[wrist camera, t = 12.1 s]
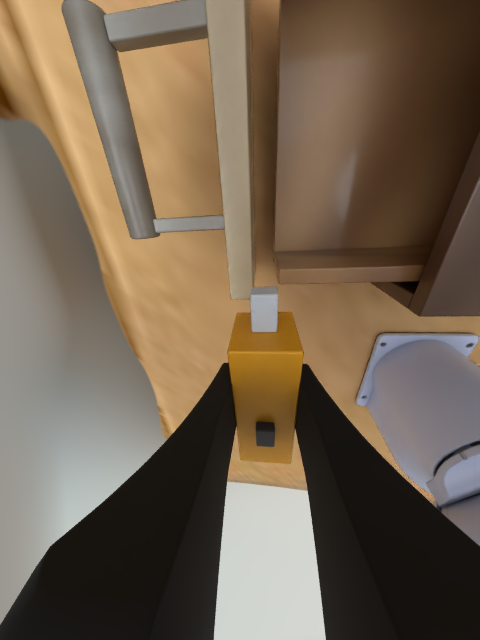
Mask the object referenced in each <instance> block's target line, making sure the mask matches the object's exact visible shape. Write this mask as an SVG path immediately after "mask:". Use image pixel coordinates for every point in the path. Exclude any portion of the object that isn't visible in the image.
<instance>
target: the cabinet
mask: <svg viewBox="0 0 480 640" xmlns="http://www.w3.org/2000/svg"><path fill="white" fill-rule="evenodd" d="M370 283H372V284H373V285H375V286H376V287H378V288H379V289H380V290H382V291H383V292H385V293H386V294H388V295H389V296H391V297H392V298H393V299H395V300H396V301H398V302H399V303H401V304H402V305H403V306H405V307H406V308H408V309H409V310H411V311H412V312H413V313H415V314H416V315H418V316H480V131H479V134H478V136H477V139H476V141H475V144H474V146H473V149H472V151H471V154H470V156H469V159H468V161H467V164H466V166H465V169H464V171H463V174H462V176H461V179H460V181H459V184H458V186H457V189H456V191H455V194H454V196H453V199H452V201H451V204H450V206H449V209H448V211H447V214H446V216H445V219H444V222H443V224H442V227H441V229H440V232H439V234H438V237H437V239H436V242H435V244H434V247H433V249H432V252H431V254H430V257H429V259H428V262H427V264H426V267H425V269H424V272H423V274H422V277H421V279H420V281H404V282H370Z"/></svg>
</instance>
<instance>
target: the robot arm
mask: <svg viewBox="0 0 480 640" xmlns="http://www.w3.org/2000/svg"><path fill="white" fill-rule="evenodd" d="M478 341H479V337H478V336H477V335H475V334H458V333H383V334H380V335H379V336H378V337H377V340H376V343H375V345H374V348H373V351H372V354H371V357H370V360H369V363H368V366H367V369H366V372H365V375H364V378H363V381H362V384H361V387H360V390H359V393H358V396H357V399H356V403H357V405H359V406H367V408H368V410H369V412H370V414H371V416H372V417H373V419H374V421H375V423H376V425H377V427H378V429H379V431H380V433H381V435H382V436H383V438H384V440H385V442H386V444H387V446H388V448H389V450H390V452H391V453H392V455H393V457H394V459H395V461H396V462H397V464H398V465H399V466H400V468H401V469H402V470H403V471H404V472H405V473H406V475H407V476H408V477H410V478H411V479H412V480H413V481H414V482H415V483H416V484H417V485H419V486H420V487H421V488H423V489H424V490H426V491H427V492H429V493H431V494H432V495H433V497H434V498H435V500H436V501H435V502H433V504H432V503H430V502H429V501H428V500H427V499H426V498H425V497H424V496H423V495H422V494H421V493H420V492H419V491H418V490H416V489H415V488H414V487H413V486H412V485H411V484H410V483H409V482H408V481H407V480H406V479H405V478H403V477H402V476H401V475H400V474H399V473H398V472H397V471H396V470H395V469H394V468H393V467H392V466H391V465H390V464H389V463H388V462H387V461H386V460H385V459H384V458H383V457H382V456H381V455H380V454H379V453H378V452H377V451H376V449H375V448H374V447H373V446H372V445H371V444H370V443H369V442H368V441H367V440H366V439H365V438H364V437H363V436H362V434H361V433H360V432H359V431H358V430H357V429H356V428H355V427H354V425H353V424H352V423H351V422H350V421H349V420H348V418H347V417H346V416H345V415H344V414H343V412H342V411H341V410H340V409H339V407H338V406H337V405H336V404H335V402H334V401H333V400H332V398H331V397H330V396H329V394H328V393H327V392H326V390H325V389H324V388H323V386H322V385H321V383H320V382H319V381H318V379H317V378H316V376H315V375H314V373H313V372H312V370H311V368H310V367H309V366H308V365H307V364H302V372H301V381H300V389H299V398H298V407H297V415H296V424H295V429H296V434H297V439H298V443H299V448H300V452H301V457H302V462H303V466H304V471H305V476H306V482H307V488H308V495H309V502H310V509H311V516H312V525H313V532H314V541H315V548H316V555H317V565H318V573H319V582H320V590H321V598H322V607H323V617H324V625H325V635H326V640H480V366H478V365H477V364H475V363H474V362H473V361H471V360H470V359H469V358H468V356H469V355H470V353H471V352H472V350H473V349H474V347H475V345H476V344H477V342H478ZM383 342H384V343H383ZM381 343H383V344H381ZM235 430H236V418H235V410H234V402H233V393H232V385H231V377H230V369H229V363H224V364H222V366H221V368H220V370H219V371H218V373H217V375H216V376H215V378H214V380H213V381H212V383H211V384H210V386H209V387H208V389H207V390H206V392H205V393H204V395H203V396H202V398H201V399H200V400H199V402H198V403H197V404H196V406H195V407H194V408H193V410H192V411H191V412H190V413H189V415H188V416H187V417H186V419H185V420H184V421H183V422H182V423H181V425H180V426H179V427H178V428H177V429H176V431H175V432H174V433H173V434H172V435H171V436H170V437H169V438H168V440H167V441H166V442H165V443H164V444H163V445H162V446H161V447H160V448H159V449H158V450H157V451H156V452H155V453H154V454H153V455H152V456H151V458H150V459H149V460H148V461H147V462H146V463H145V464H144V465H143V466H141V468H139V470H138V471H136V472H135V473H134V474H133V475H132V476H131V477H130V478H129V479H128V480H127V481H125V482H124V483H123V484H122V485H121V486H120V487H119V488H118V489H117V490H116V491H115V492H114V493H113V494H112V495H110V496H109V497H108V498H107V499H106V500H105V501H104V502H103V503H101V504H100V505H99V506H98V507H97V508H95V510H93V511H92V512H91V513H90V514H88V515H87V516H86V517H85V518H84V519H82V520H81V521H80V522H79V523H78V524H76V525H75V526H74V527H73V528H72V529H71V530H69V531H68V532H67V533H66V534H65V535H64V536H62V537H61V538H60V539H59V540H57V541H56V542H55V543H54V544H53V545H52V546H50V548H49V549H48V551H47V552H46V554H45V555H44V557H43V558H42V559H41V561H40V562H39V564H38V565H37V567H36V568H35V570H34V571H33V573H32V574H31V576H30V578H29V579H28V581H27V583H26V585H25V586H24V587H23V589H22V591H21V592H20V594H19V596H18V597H17V599H16V600H15V602H14V604H13V605H12V607H11V609H10V610H9V612H8V613H7V615H6V617H5V618H4V620H3V622H2V623H1V625H0V640H214V626H215V612H216V598H217V585H218V574H219V562H220V549H221V538H222V527H223V516H224V506H225V496H226V486H227V477H228V470H229V463H230V458H231V452H232V447H233V441H234V436H235Z"/></svg>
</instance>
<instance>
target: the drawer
mask: <svg viewBox="0 0 480 640" xmlns="http://www.w3.org/2000/svg"><path fill="white" fill-rule="evenodd" d="M62 13H63V16H64V20H65V23H66V26H67V30H68V33H69V36H70V39H71V43H72V46H73V49H74V53H75V56H76V59H77V63H78V66H79V69H80V72H81V76H82V79H83V82H84V86H85V89H86V92H87V95H88V99H89V102H90V105H91V109H92V112H93V115H94V118H95V122H96V125H97V128H98V132H99V135H100V138H101V141H102V145H103V148H104V151H105V155H106V158H107V161H108V165H109V168H110V171H111V174H112V178H113V181H114V184H115V188H116V191H117V194H118V197H119V201H120V204H121V207H122V211H123V214H124V217H125V220H126V224H127V227H128V230H129V234H130V237H131V238H132V239H147V238H154V237H158V236H160V233H165V232H183V231H201V230H219V229H225V239H226V250H227V262H228V273H229V285H230V296H231V299H232V300H234V299H250V292H251V288H252V287H254V283H255V272H256V253H255V199H254V144H253V90H252V36H251V0H180V1H175V2H170V3H164V4H159V5H154V6H148V7H143V8H138V9H132V10H127V11H121V12H116V13H111V14H106V13H105V12H104V11H103V10H102V9H101V8H100V7H99V6H97V5H96V4H94V3H92V2H90V1H88V0H64V2H63V3H62ZM205 38H208V43H209V54H210V66H211V78H212V89H213V101H214V112H215V124H216V135H217V147H218V158H219V170H220V181H221V193H222V204H223V215H210V216H194V217H178V218H162V219H156V215H155V211H154V206H153V202H152V198H151V194H150V189H149V185H148V181H147V177H146V172H145V168H144V164H143V160H142V155H141V151H140V147H139V142H138V138H137V134H136V130H135V125H134V121H133V117H132V113H131V108H130V104H129V100H128V96H127V91H126V87H125V83H124V79H123V74H122V70H121V66H120V62H119V57H118V53H117V50H118V51H119V52H125V51H131V50H137V49H143V48H150V47H156V46H162V45H168V44H174V43H180V42H186V41H193V40H199V39H205ZM479 131H480V0H280V1H279V42H278V83H277V125H276V166H275V208H274V249H273V261H274V265H275V270H276V274H277V278H278V283H279V284H318V283H361V282H404V281H420V279H421V277H422V274H423V272H424V269H425V267H426V264H427V262H428V259H429V257H430V254H431V252H432V249H433V247H434V244H435V242H436V239H437V237H438V234H439V232H440V229H441V227H442V224H443V222H444V219H445V216H446V214H447V211H448V209H449V206H450V204H451V201H452V199H453V196H454V194H455V191H456V189H457V186H458V184H459V181H460V179H461V176H462V174H463V171H464V169H465V166H466V164H467V161H468V159H469V156H470V154H471V151H472V149H473V146H474V144H475V141H476V139H477V136H478V134H479Z"/></svg>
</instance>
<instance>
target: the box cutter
mask: <svg viewBox="0 0 480 640" xmlns="http://www.w3.org/2000/svg"><path fill="white" fill-rule="evenodd" d="M250 309H251V313H237V314H236V318H235V322H234V326H233V331H232V335H231V339H230V344H229V348H228V352H227V353H228V361H229V369H230V377H231V385H232V393H233V402H234V410H235V418H236V427H237V435H238V443H239V452H240V459H241V460H242V461H255V462H269V463H284V464H290V463H291V459H292V450H293V441H294V433H295V424H296V415H297V407H298V398H299V389H300V381H301V372H302V363H303V354H304V352H303V349H302V345H301V342H300V338H299V335H298V332H297V328H296V325H295V321H294V318H293V314H292V312H278V291H277V288H276V287H275V286H274V287H252V288H251V292H250Z"/></svg>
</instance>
